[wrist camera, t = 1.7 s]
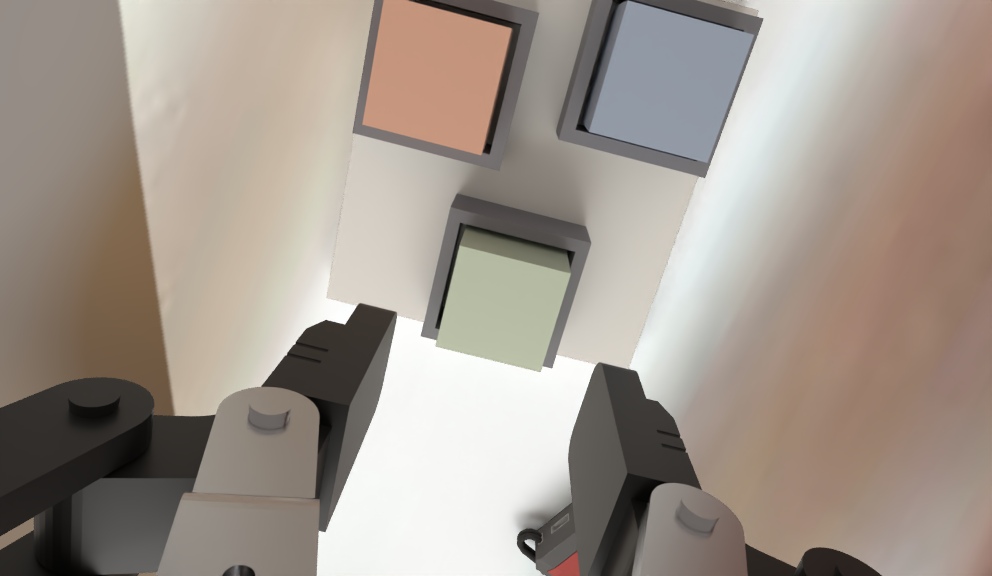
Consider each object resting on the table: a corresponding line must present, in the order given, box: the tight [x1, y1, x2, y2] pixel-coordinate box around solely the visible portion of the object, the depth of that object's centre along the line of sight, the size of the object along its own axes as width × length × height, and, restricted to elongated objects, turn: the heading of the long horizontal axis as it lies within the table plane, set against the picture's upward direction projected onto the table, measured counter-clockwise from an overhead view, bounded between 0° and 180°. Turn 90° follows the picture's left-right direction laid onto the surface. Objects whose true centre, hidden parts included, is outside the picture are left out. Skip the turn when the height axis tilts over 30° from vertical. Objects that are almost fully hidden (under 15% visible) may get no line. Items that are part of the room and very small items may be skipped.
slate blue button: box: [581, 1, 754, 163], centre depth 27 cm, size 5×5×4 cm
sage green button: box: [436, 224, 571, 372], centre depth 31 cm, size 5×5×4 cm
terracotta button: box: [362, 0, 514, 155], centre depth 28 cm, size 5×5×4 cm
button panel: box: [327, 0, 763, 369], centre depth 32 cm, size 17×19×5 cm
